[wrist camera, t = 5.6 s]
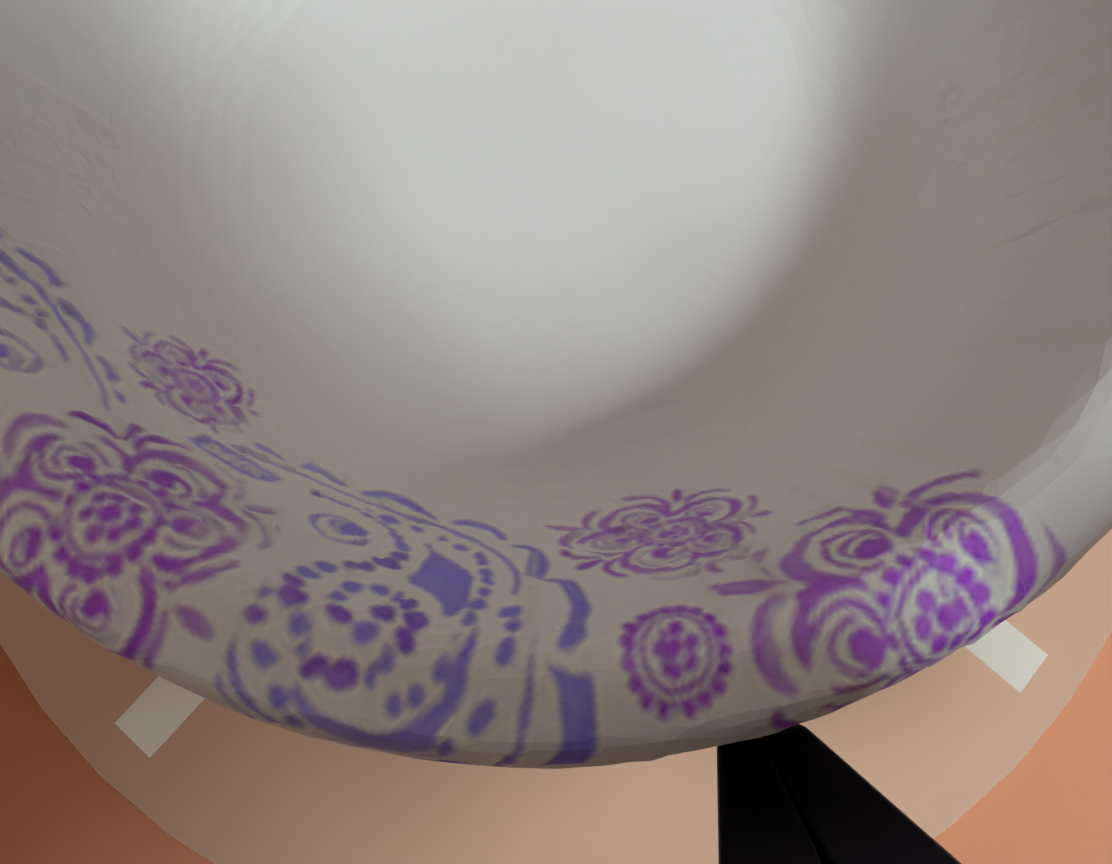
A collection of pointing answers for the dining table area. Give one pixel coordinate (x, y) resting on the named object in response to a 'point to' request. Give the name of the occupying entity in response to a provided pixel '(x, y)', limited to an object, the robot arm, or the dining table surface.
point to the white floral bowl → (551, 352)
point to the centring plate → (530, 793)
